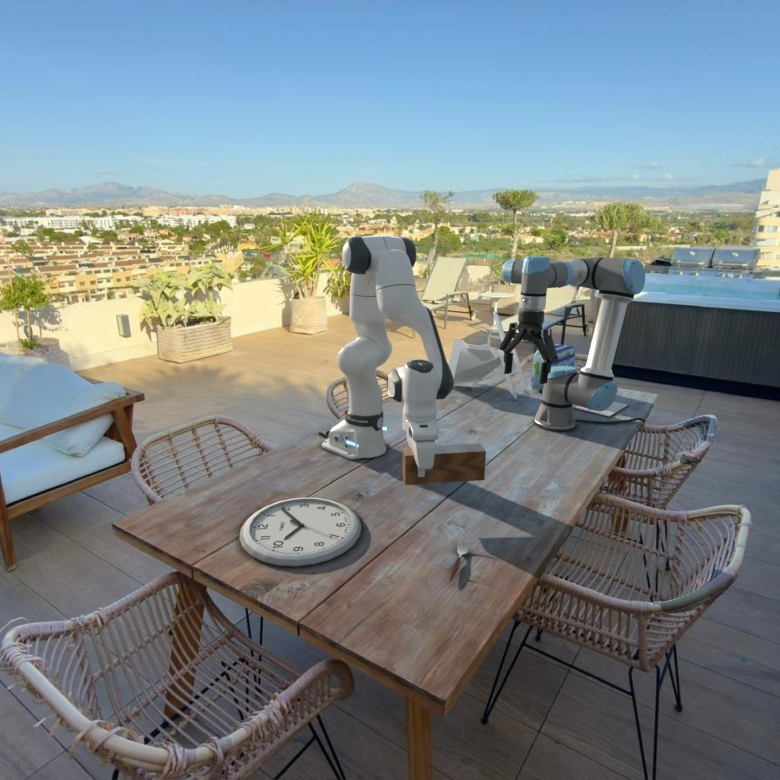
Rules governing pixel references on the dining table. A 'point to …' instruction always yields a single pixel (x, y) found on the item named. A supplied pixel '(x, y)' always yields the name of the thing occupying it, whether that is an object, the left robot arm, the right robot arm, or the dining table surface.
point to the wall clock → (300, 532)
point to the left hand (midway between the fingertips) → (418, 470)
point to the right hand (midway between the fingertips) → (525, 378)
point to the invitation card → (609, 411)
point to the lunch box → (564, 359)
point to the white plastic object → (482, 362)
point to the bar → (447, 464)
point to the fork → (461, 551)
